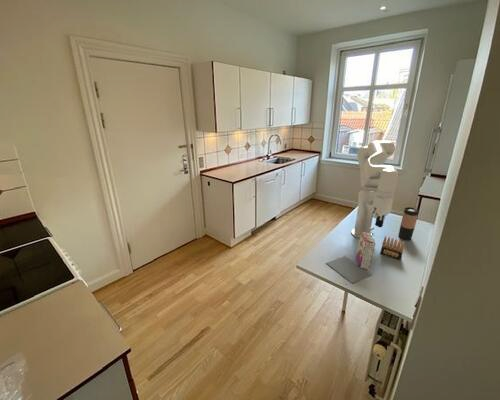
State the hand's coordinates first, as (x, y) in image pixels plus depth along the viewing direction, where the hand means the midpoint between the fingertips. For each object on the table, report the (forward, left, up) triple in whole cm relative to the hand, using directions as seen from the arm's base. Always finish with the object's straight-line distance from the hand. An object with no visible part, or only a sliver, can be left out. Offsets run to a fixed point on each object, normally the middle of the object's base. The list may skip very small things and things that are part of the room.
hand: (378, 226), depth 127 cm
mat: (+18, 0, -22) cm, 28 cm away
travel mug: (-39, -6, -22) cm, 45 cm away
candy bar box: (+8, 0, -21) cm, 23 cm away
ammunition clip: (-12, +3, -22) cm, 25 cm away
